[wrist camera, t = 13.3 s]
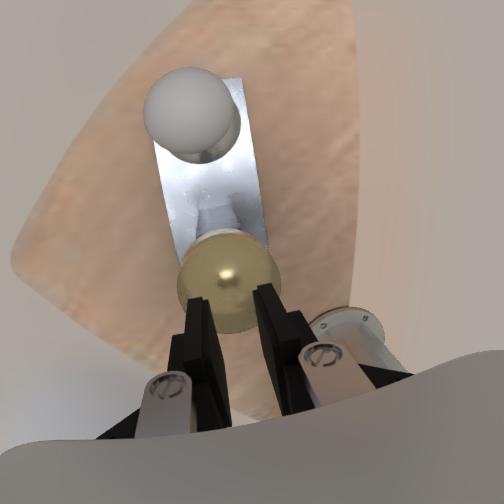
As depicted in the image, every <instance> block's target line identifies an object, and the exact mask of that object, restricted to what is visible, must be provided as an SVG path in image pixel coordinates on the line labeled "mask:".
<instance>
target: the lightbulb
mask: <svg viewBox="0 0 504 504" xmlns="http://www.w3.org/2000/svg"><path fill="white" fill-rule="evenodd" d="M143 113H144V122H145V126H146V129H147V131H148V133H149V135H150V136H151V137H152V139H153V140H154V141H155V142H156V143H157V144H158V145H160V146H161V147H162V148H164V149H166V150H168V151H170V152H174V153H178V154H196V153H200V152H203V151H205V150H207V149H209V148H211V147H213V146H214V145H216V144H217V143H218V142H219V141H220V140H221V139H222V138H223V137H224V136H225V134H226V133H227V131H228V129H229V128H230V125H231V122H232V120H233V114H234V103H233V99H232V95H231V93H230V91H229V89H228V87H227V86H226V84H225V83H224V82H223V81H222V80H221V79H220V78H219V77H218V76H216V75H215V74H213V73H211V72H209V71H207V70H204V69H200V68H192V67H188V68H180V69H177V70H174V71H171V72H169V73H167V74H166V75H164V76H163V77H161V78H160V79H159V80H158V81H157V82H156V83H155V84H154V85H153V86H152V88H151V89H150V91H149V93H148V94H147V97H146V100H145V103H144V109H143Z"/></svg>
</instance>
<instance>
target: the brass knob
mask: <svg viewBox="0 0 504 504" xmlns="http://www.w3.org/2000/svg"><path fill="white" fill-rule="evenodd" d="M267 283H272V285H273V287H274V289H275V291H276V293H277V295H278V297H279V296H280V291H281V278H280V273H279V270H278V267H277V265H276V263H275V262H274V260H273V258H272V257H271V255H270V254H269V252H268V251H267V249H266V248H265V246H264V245H263V244H262V243H261V242H260V241H259V240H258V239H257V238H255V237H254V236H252V235H251V234H249V233H247V232H244V231H241V230H238V229H217V230H214V231H210V232H208V233H206V234H204V235H202V236H200V237H199V238H198V239H196V240H195V241H194V242H193V243H192V244H191V245H190V247H189V248H188V249H187V251H186V253H185V254H184V257H183V259H182V263H181V267H180V272H179V276H178V283H177V293H178V298H179V301H180V304H181V306H182V308H183V310H184V311H185V313H186V311H187V301H188V299H191V298H196V297H202V298H203V300H206V299H208V300H209V303H210V307H211V312H212V316H213V320H214V324H215V328H216V332H217V333H222V334H234V333H240V332H244V331H247V330H249V329H252V328H254V327H255V326H257V325H258V322H257V316H256V310H255V305H254V299H253V293H252V290H257V285H262V284H267Z"/></svg>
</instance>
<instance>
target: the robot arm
mask: <svg viewBox="0 0 504 504" xmlns="http://www.w3.org/2000/svg"><path fill="white" fill-rule="evenodd" d="M252 293H253V299H254V305H255V310H256V316H257V322H258V327H259V333H260V339H261V344H262V350H263V354H264V358H265V361H266V364H267V368H268V371H269V374H270V377H271V381H272V384H273V387H274V390H275V394H276V397H277V400H278V403H279V406H280V410H281V413H282V416H284V417H280V418H276V419H271V420H267V421H262V422H257V423H253V424H247V425H242V426H236V427H232V421H231V413H230V405H229V397H228V389H227V381H226V373H225V364H224V359H223V355H222V351H221V347H220V344H219V340H218V336H217V332H216V328H215V324H214V320H213V316H212V312H211V307H210V303H209V300H208V299H206V300H203V298H202V297H196V298H191V299H188V301H187V311H186V321H185V332H184V333H183V334H177V335H173V336H172V341H171V348H170V355H169V362H168V369H167V372H164V373H161V374H159V375H157V376H155V377H154V378H152V379H151V380H150V381H149V382H148V383H147V385H146V387H145V390H144V395H143V399H142V404H141V407H140V408H139V409H137V410H136V411H135V412H133V413H132V414H130V415H129V416H128V417H126V418H125V419H123V420H122V421H121V422H119V423H118V424H116V425H115V426H114V427H112V428H110V429H109V430H108V431H106V432H105V433H103V434H102V435H100V436H99V437H98V438H96V439H95V440H49V441H39V442H32V443H27V444H24V445H20V446H16V447H14V448H12V449H9V450H7V451H5V452H4V453H2V454H1V455H0V504H504V350H490V351H483V352H476V353H473V354H469V355H465V356H462V357H459V358H456V359H453V360H450V361H447V362H445V363H442V364H440V365H438V366H435V367H433V368H430V369H428V370H425V371H423V372H420V373H418V374H411V373H409V372H408V371H407V370H406V369H405V368H404V367H403V366H402V365H401V363H400V362H399V361H398V360H397V359H396V358H395V357H394V355H393V354H392V353H391V352H390V351H389V350H388V349H387V348H386V346H385V345H384V341H385V336H384V330H383V327H382V325H381V323H380V322H379V320H378V319H377V318H376V317H375V316H374V315H373V314H372V313H370V312H369V311H367V310H364V309H362V308H357V307H344V308H339V309H335V310H333V311H330V312H328V313H325V314H324V315H322V316H320V317H319V318H317V319H316V320H315V321H313V322H312V323H311V324H310V325H309V324H308V323H307V321H306V319H305V318H304V316H303V314H302V313H301V311H300V310H297V311H293V312H288V313H287V312H286V310H285V308H284V306H283V304H282V302H281V300H280V298H279V297H278V295H277V293H276V291H275V289H274V287H273V285H272V283H267V284H262V285H257V290H252ZM286 415H289V416H286ZM227 427H231V428H227Z"/></svg>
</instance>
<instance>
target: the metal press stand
mask: <svg viewBox="0 0 504 504" xmlns="http://www.w3.org/2000/svg"><path fill="white" fill-rule="evenodd" d="M222 81H223V82H224V83H225V84H226V86H227V87H228V89H229V91H230V93H231V95H232V99H233V103H234V114H233V120H232V122H231V125H230V128H229V129H228V131H227V133H226V134H225V136H224V137H223V138H222V139H221V140H220V141H219V142H218V143H217V144H216V145H214V146H213V147H211V148H209V149H207V150H205V151H203V152H200V153H196V154H178V153H174V152H170V151H168V150H166V149H164V148H162V147H161V146H160V145H158V144H157V143H156V142H155V141H154V146H155V151H156V157H157V162H158V168H159V173H160V178H161V183H162V188H163V193H164V198H165V203H166V208H167V213H168V217H169V222H170V226H171V231H172V235H173V240H174V244H175V248H176V253H177V257H178V261H179V265H181V263H182V259H183V257H184V254H185V253H186V251H187V249H188V248H189V247H190V245H191V244H192V243H193V242H194V241H195V240H196V239H198V238H199V237H200V236H202V235H204V234H206V233H208V232H210V231H214V230H217V229H238V230H241V231H244V232H247V233H249V234H251V235H252V236H254V237H255V238H257V239H258V240H259V241H260V242H261V243H262V244H263V245H264V246H265V248H269V247H268V240H267V234H266V227H265V220H264V214H263V207H262V201H261V195H260V188H259V182H258V176H257V169H256V163H255V157H254V151H253V144H252V138H251V132H250V126H249V120H248V114H247V108H246V102H245V96H244V91H243V85H242V79H241V77H237V78H230V79H223V80H222ZM146 95H147V94H146Z"/></svg>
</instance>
